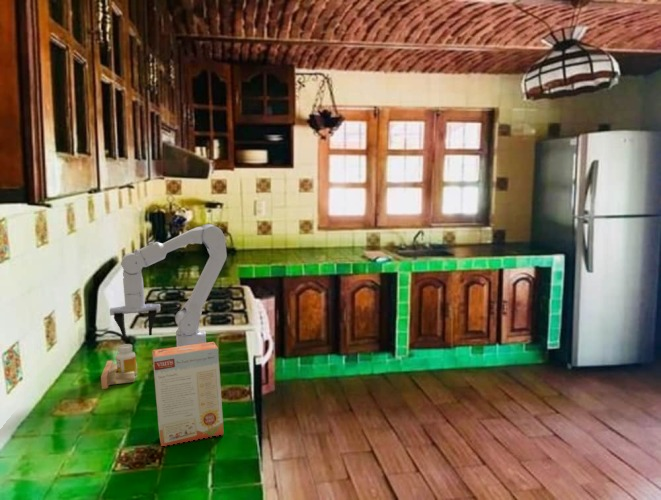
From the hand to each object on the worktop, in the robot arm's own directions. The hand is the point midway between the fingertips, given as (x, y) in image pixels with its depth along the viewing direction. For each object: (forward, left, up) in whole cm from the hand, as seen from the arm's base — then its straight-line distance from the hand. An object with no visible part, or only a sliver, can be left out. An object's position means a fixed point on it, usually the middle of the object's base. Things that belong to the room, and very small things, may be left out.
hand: (137, 335), depth 176 cm
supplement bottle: (+3, +9, -10) cm, 14 cm away
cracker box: (-15, +53, -10) cm, 56 cm away
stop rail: (+8, +9, -10) cm, 16 cm away
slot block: (+4, +9, -10) cm, 14 cm away
